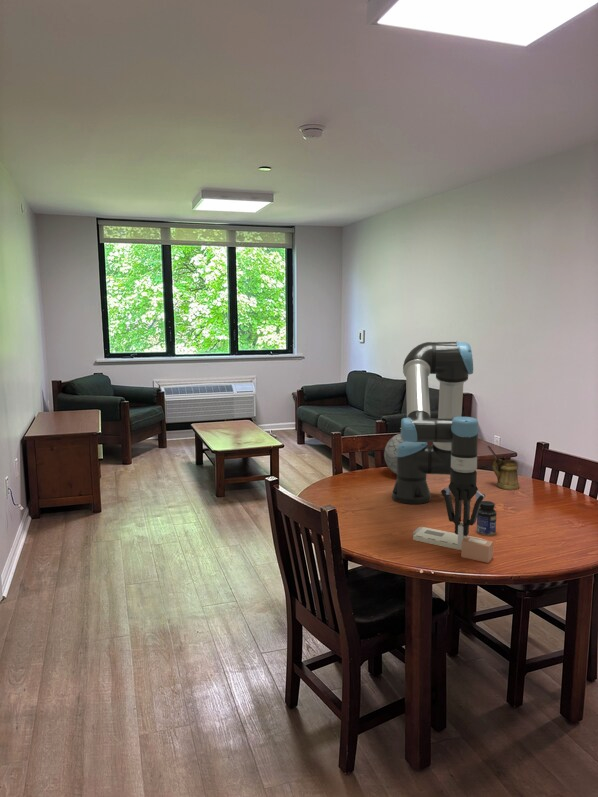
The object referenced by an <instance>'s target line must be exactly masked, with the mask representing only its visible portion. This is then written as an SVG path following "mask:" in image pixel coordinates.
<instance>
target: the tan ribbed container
mask: <svg viewBox="0 0 598 797" xmlns="http://www.w3.org/2000/svg"><path fill="white" fill-rule="evenodd" d="M487 448H488V449H489V451H490V452H491V454H492V455H493V457H494V460H493V463H492V465H491V466H492V471H493V472H494V474H495V476H496V479H497V481H496V487H497V488H499V489H502V490H506V491H507V490H508V491H515V489H516V490H519V489H520V483H519V479H518V478H519V477H518V470H519V468H518V467H519V466H518V465H517V461H515V460H512V459H505V460H504V459H500V458H499V457H498V456H497V454H496V453H495V452H494V450H493V449H492V447H491V446H489V445H487ZM498 467H499V468H500V469H499V470H498V469H497V468H498Z"/></svg>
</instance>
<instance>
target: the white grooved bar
mask: <svg viewBox="0 0 598 797" xmlns="http://www.w3.org/2000/svg"><path fill="white" fill-rule="evenodd" d="M422 527H423V528H422V529H421V530H420V531H418V532H417V533H416V534H415V535H414V536H413V535H412V537H413V538H412V539H413V541H417V542H421V543H426V544H431V545H435V546H440V547H443V548H449V549H454V550H458V551H462V547H459V546H458V535H457V534H455V532H450V531H445V530H440V529H435V528H430V527H424V526H422ZM467 536H468V537H473V538H478V539H483V540H485V539H484V538H480V537H475V536H471V535H470V536H469V535H467ZM465 537H466V536H465Z"/></svg>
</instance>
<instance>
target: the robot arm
mask: <svg viewBox="0 0 598 797" xmlns="http://www.w3.org/2000/svg"><path fill="white" fill-rule="evenodd" d="M473 360H474V359H473V351H472V347H471V345H470V343H468V342H465V341H464V342H463V341H461V342H460V341H434V342H432V341H427V342H422V343H420V344H418V345H416V346H415V347H413V348H412V349H411V350H410V351H409V353H408V354H407V355H406V357H405V359H404V361H403V365H402V372H403V376H404V377H405V385H406V386H405V387H406V388H405V390H406V392H405V393H406V417H403V418H401V422H400V433H401V439H402V440H403V441H406V442H403V443H401V444H399V445H398V448H397V474H396V480H395V483H394V486H393V489H392V492H391V495H392V496H391V497H392V500H394V501H395V502H397V503H401V504H407V505H421V504H427V503H428V502H430V501H431V491H430V488H429V484H428V482H427V475H447V476H448V475H450V478H449V484H448V486H447V487H445V488H443V489H442V490H441V491H440V493H441V495H442V496H443V498H444V503H445V508H446V513H447V518H448V521H449V522H452V523H454V533H455V534H457V535H458V546H459V547H462V540H463V539H464V538H465V536H469V533H470V526H473V525H474V524H475V523H477V515H478V512H479V509H480V505H481V502H482V501H484V499H485V498H486V494H484V493H481V492H480V491H479V487H477V486H478V485H477V477H478V476H477V475H478V474H477V472H478V471H477V469H478V445H479V444H478V442H479V441H478V440H479V432H480V430H479V420H478V419H477V418H475V417H472V416H462V414H463V413H462V412H463V400H464V399H463V398H464V395H463V394H464V383H466V382H467V381H468V380H469V376H470V375H472V374H474V361H473ZM430 375H435V379H436V380H437V381H438V382H439V389H438V390H439V393H438V412H437V413H438V414H437V415H438V416H437V418H432V417H431V404H430V389H429V387H430V386H429V376H430ZM428 443H432V444H428ZM451 495H453V498H454V504H453V501H452V497H451ZM474 496H475V502H474V505H473V508H472V513H471V502H472V501H471V500H472V499H473V498H474ZM462 504H463V506H462ZM462 507H463V511H462ZM462 514H463V516H462Z"/></svg>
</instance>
